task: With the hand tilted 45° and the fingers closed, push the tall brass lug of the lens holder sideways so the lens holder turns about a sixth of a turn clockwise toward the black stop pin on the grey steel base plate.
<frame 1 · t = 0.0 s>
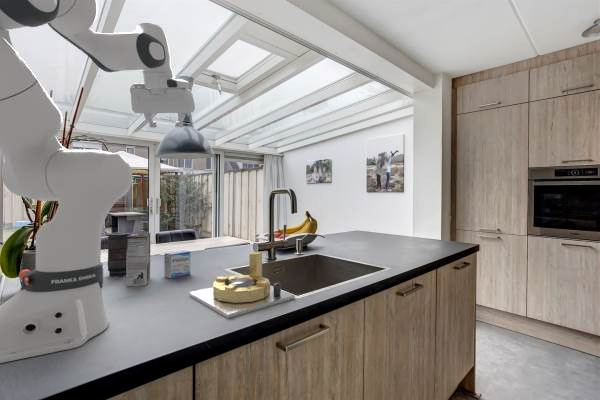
hand: (166, 127, 102), 52 cm above the countertop, tool tilted 20°, fingers open, 8 cm apart
coffee box: (138, 282, 102), on the countertop
medicine box: (177, 276, 111), on the countertop
lens holder: (246, 274, 90), point 6 cm above the countertop, hinge at 0.0°
base plate: (241, 297, 89), on the countertop
camera lens: (120, 274, 112), on the countertop
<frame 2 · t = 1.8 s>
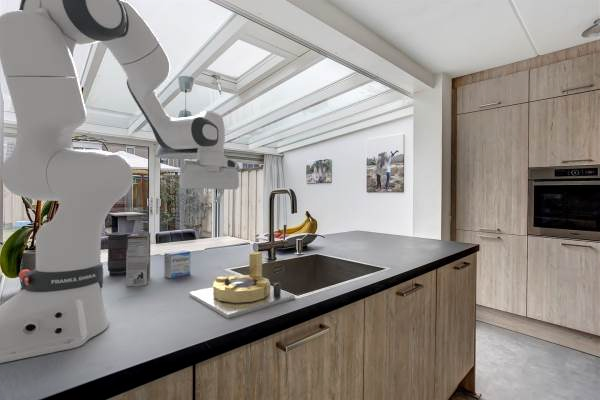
hand: (210, 202, 103), 27 cm above the countertop, tool pointing down, fingers open, 4 cm apart
nothing on the countertop moved.
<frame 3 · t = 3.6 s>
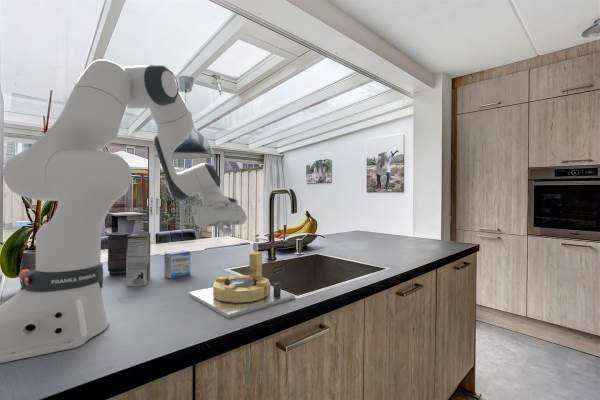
hand: (228, 232, 112), 16 cm above the countertop, tool tilted 45°, fingers closed
nothing on the countertop moved.
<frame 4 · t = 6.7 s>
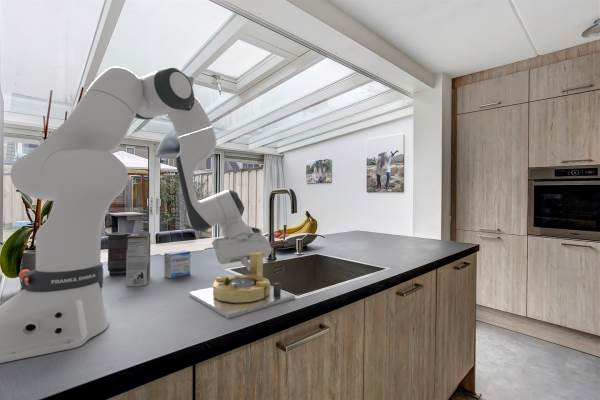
hand: (253, 269, 101), 5 cm above the countertop, tool tilted 45°, fingers closed
lens holder: (246, 274, 90), point 6 cm above the countertop, hinge at 1.6°, touching gripper
everything else where it was.
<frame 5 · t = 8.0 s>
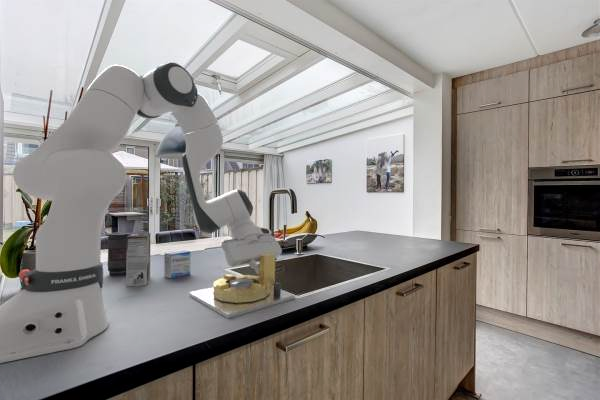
hand: (264, 271, 98), 5 cm above the countertop, tool tilted 45°, fingers closed, pressing on lens holder
lens holder: (246, 275, 90), point 6 cm above the countertop, hinge at 27.7°, touching gripper
everything else where it was.
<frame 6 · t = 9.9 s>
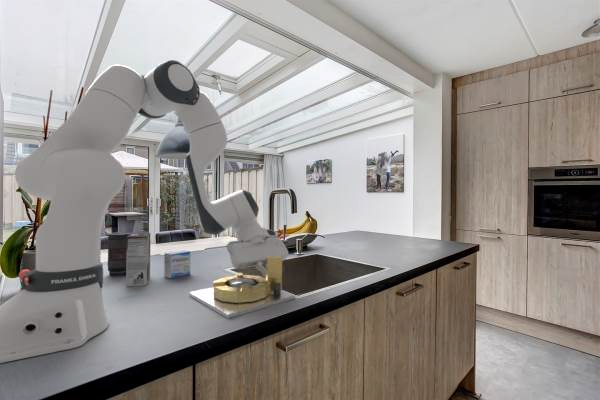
hand: (270, 274, 95), 5 cm above the countertop, tool tilted 45°, fingers closed
lens holder: (246, 276, 89), point 6 cm above the countertop, hinge at 56.2°, touching gripper
everything else where it was.
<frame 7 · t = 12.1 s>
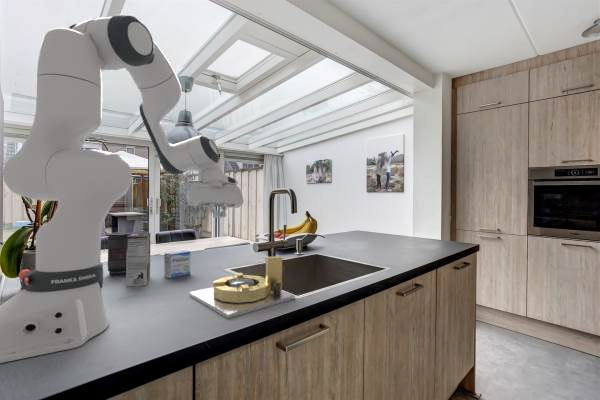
hand: (220, 216, 104), 22 cm above the countertop, tool tilted 30°, fingers closed
lens holder: (246, 276, 89), point 6 cm above the countertop, hinge at 56.2°
everything else where it was.
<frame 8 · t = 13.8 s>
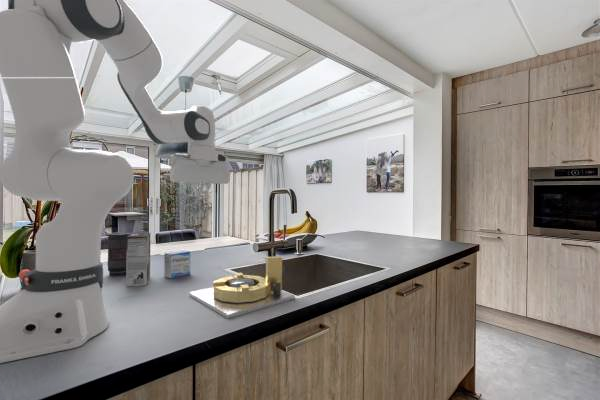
hand: (201, 196, 104), 29 cm above the countertop, tool pointing down, fingers closed
nothing on the countertop moved.
at the end: lens holder at +56° (first picture: +0°); lens holder touching nothing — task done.
